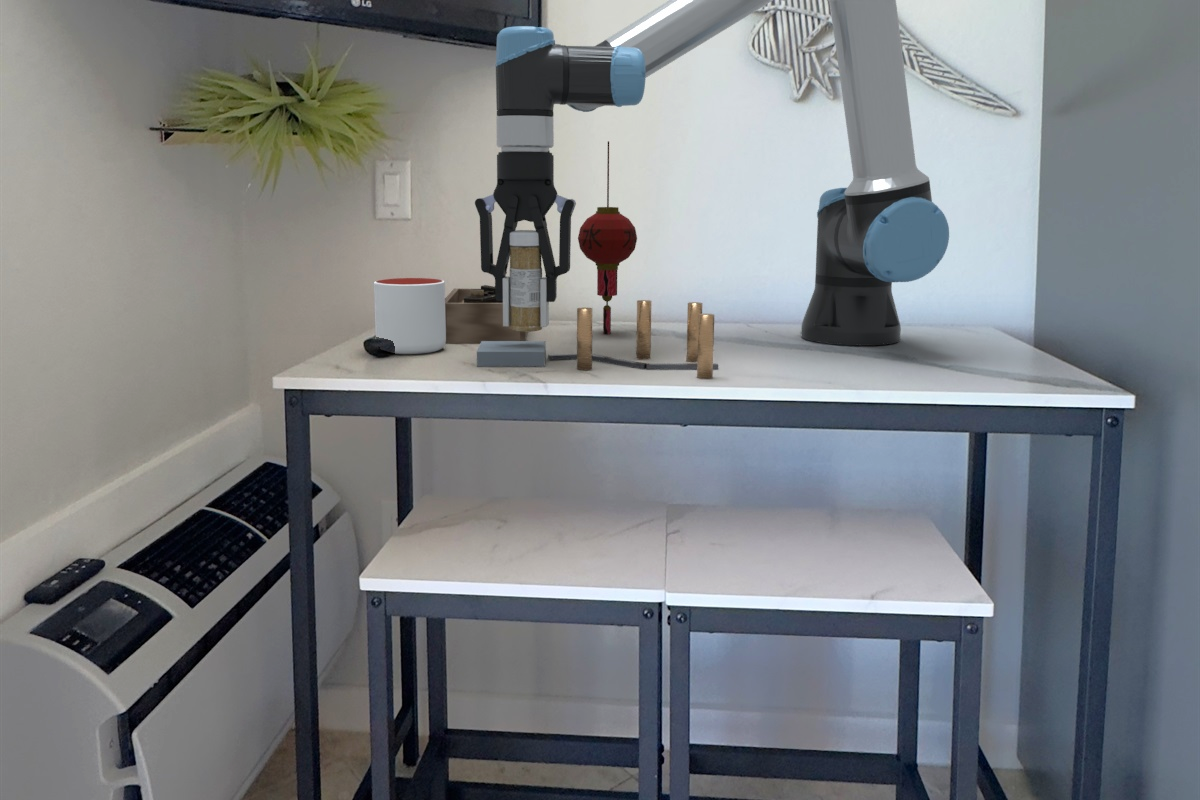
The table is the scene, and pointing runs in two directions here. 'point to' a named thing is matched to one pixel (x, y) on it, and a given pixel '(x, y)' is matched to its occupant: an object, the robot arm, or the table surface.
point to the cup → (411, 314)
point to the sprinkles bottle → (525, 280)
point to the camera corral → (476, 321)
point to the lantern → (607, 248)
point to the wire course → (697, 342)
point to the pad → (511, 353)
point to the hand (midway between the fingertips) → (526, 324)
